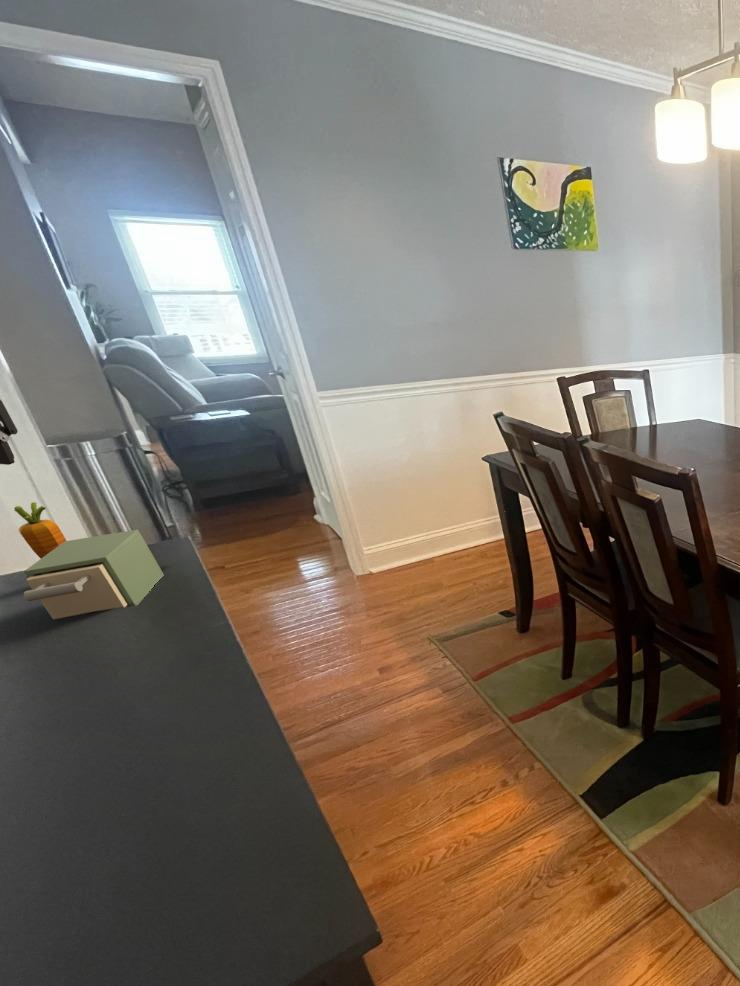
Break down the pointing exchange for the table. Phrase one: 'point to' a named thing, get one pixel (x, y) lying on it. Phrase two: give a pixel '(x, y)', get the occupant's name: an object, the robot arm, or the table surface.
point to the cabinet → (108, 561)
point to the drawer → (75, 590)
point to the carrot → (39, 531)
